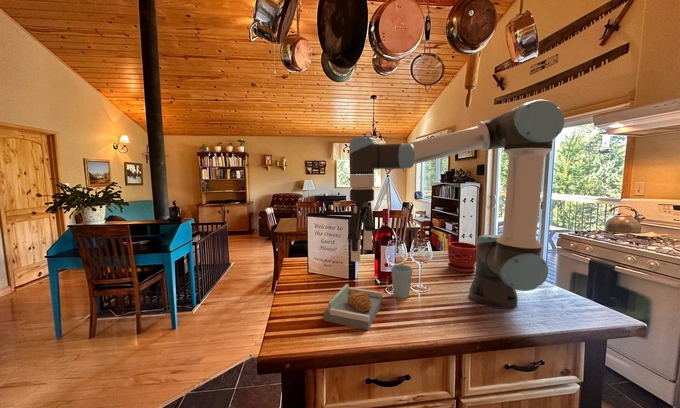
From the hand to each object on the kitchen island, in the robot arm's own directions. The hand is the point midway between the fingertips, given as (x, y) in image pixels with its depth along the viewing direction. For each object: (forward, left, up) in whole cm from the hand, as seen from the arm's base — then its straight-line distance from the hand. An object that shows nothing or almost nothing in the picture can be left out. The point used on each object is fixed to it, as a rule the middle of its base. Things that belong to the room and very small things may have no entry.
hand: (362, 255), depth 89 cm
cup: (-10, -17, -19) cm, 28 cm away
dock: (+2, +1, -19) cm, 19 cm away
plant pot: (-32, -56, -19) cm, 67 cm away
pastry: (0, +1, -17) cm, 17 cm away
